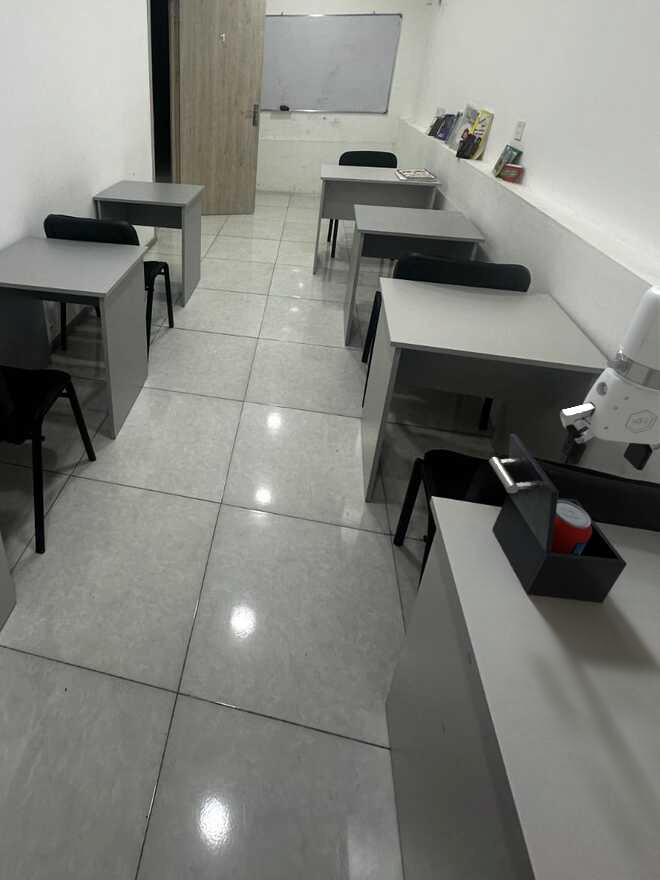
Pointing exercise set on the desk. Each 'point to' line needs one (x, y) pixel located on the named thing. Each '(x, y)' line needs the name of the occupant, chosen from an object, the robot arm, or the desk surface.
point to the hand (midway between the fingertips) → (600, 460)
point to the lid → (529, 490)
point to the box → (557, 560)
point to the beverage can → (570, 529)
